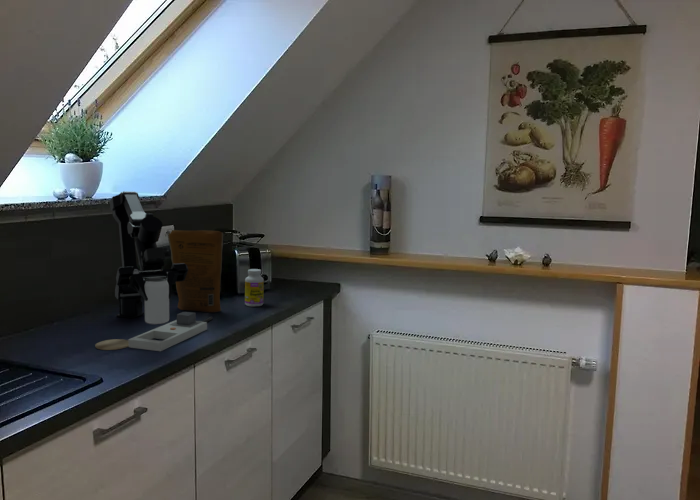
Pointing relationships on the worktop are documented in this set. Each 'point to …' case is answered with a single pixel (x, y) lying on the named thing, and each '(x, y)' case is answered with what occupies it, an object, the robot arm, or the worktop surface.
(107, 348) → the cork coaster
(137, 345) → the strip dock
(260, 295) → the supplement bottle
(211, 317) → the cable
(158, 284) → the can
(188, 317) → the block
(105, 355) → the worktop surface
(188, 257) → the pancake mix bag
